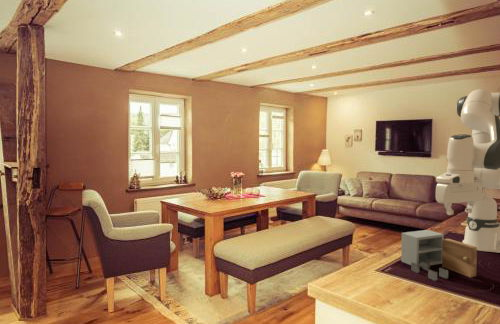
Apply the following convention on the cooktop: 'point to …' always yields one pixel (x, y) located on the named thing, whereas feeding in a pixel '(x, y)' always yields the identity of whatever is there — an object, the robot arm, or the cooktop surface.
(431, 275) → the hinge clips
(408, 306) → the cooktop surface
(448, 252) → the door
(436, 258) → the cabinet
